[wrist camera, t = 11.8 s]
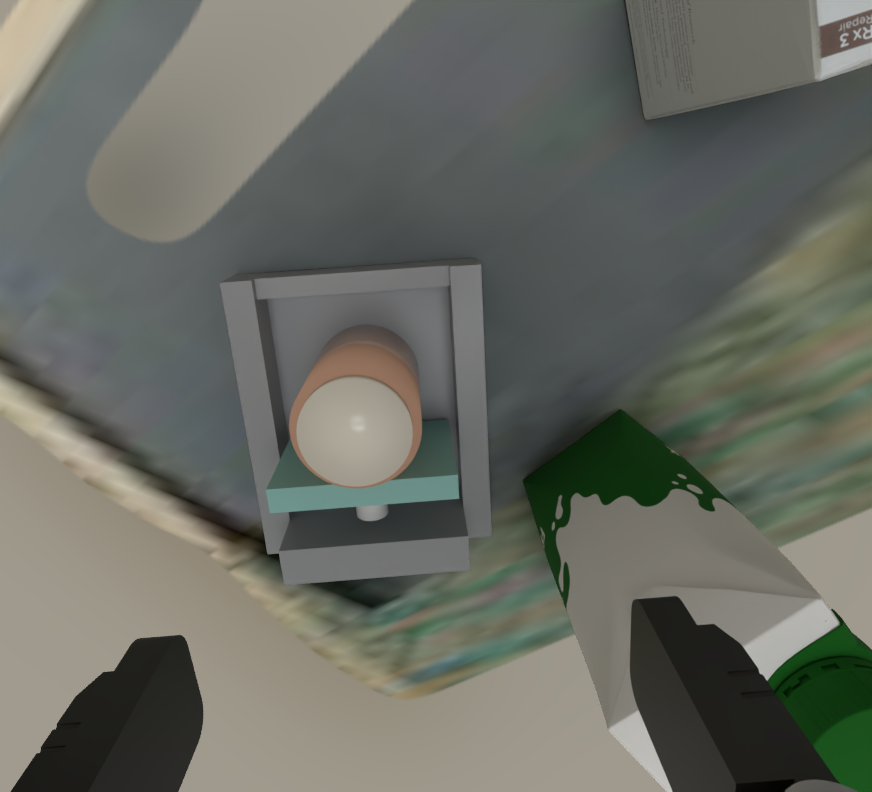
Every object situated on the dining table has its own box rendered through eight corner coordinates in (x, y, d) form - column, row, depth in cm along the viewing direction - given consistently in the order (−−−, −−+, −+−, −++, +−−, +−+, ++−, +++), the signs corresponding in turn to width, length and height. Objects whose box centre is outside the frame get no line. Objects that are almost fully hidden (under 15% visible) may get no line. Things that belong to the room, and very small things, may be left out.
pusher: (448, 419, 34) (458, 474, 27) (451, 471, 35) (461, 536, 28) (293, 431, 34) (265, 489, 27) (301, 482, 35) (276, 551, 28)
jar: (414, 320, 33) (417, 364, 24) (422, 418, 34) (426, 489, 26) (309, 328, 32) (276, 375, 24) (323, 426, 34) (296, 500, 26)
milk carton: (702, 492, 37) (1007, 804, 18) (581, 574, 39) (746, 941, 20) (624, 387, 35) (881, 620, 16) (498, 479, 36) (596, 792, 17)
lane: (474, 257, 32) (488, 272, 26) (485, 509, 37) (499, 567, 31) (236, 274, 32) (199, 292, 26) (278, 526, 37) (254, 587, 31)
